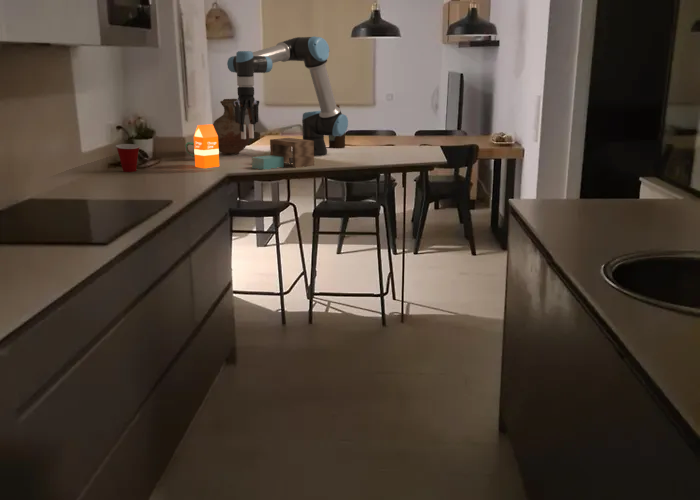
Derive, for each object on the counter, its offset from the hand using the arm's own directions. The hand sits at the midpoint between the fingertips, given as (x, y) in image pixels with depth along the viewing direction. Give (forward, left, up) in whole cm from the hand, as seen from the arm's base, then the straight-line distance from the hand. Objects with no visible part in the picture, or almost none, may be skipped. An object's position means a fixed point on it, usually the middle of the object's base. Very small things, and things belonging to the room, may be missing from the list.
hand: (247, 138), depth 316 cm
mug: (-2, -45, -15) cm, 47 cm away
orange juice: (+8, -23, -15) cm, 28 cm away
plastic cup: (+42, -35, -15) cm, 56 cm away
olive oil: (-92, -38, -15) cm, 101 cm away
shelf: (-26, 0, -15) cm, 30 cm away
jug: (-28, -55, -15) cm, 64 cm away
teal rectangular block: (-11, 0, -15) cm, 18 cm away
